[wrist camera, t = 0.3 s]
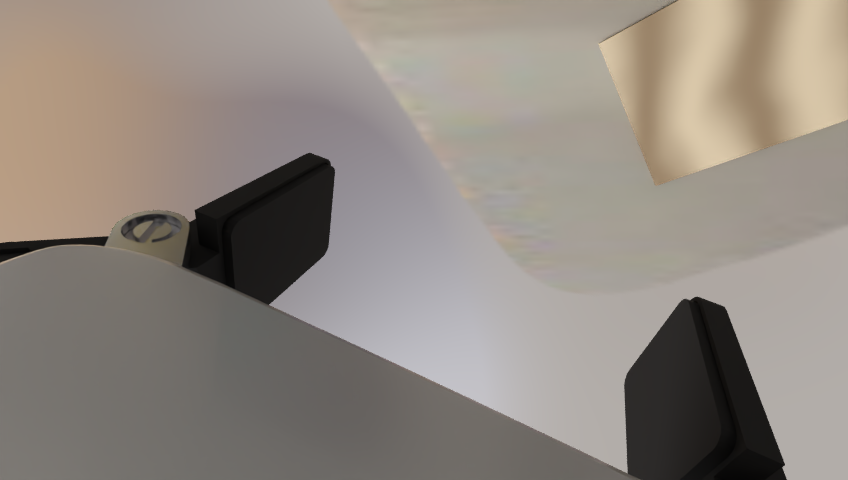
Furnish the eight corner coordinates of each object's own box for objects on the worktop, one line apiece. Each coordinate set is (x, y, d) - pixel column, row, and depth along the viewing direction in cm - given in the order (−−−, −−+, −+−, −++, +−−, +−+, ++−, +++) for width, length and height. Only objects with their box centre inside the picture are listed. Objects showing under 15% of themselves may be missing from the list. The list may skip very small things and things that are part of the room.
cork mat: (917, -131, 24) (922, -133, 23) (953, 80, 27) (959, 81, 27) (598, 43, 33) (598, 44, 33) (655, 183, 37) (655, 185, 36)
